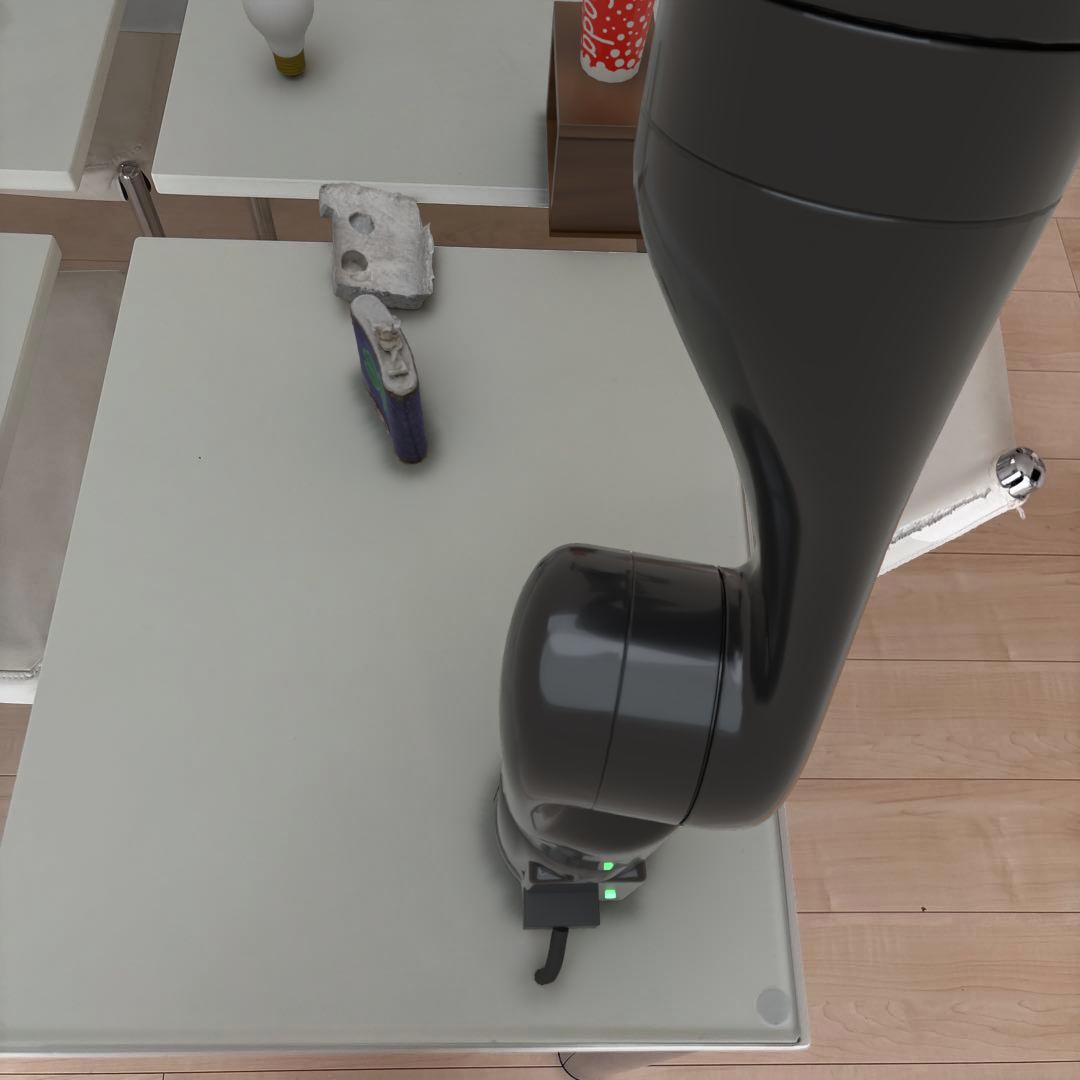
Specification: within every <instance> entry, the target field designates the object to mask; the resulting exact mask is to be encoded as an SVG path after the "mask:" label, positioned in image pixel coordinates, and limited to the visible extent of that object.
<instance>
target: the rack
mask: <svg viewBox="0 0 1080 1080" xmlns="http://www.w3.org/2000/svg"><path fill="white" fill-rule="evenodd" d="M582 3H583V1H570V0H569V1H568V0H554V1H553V9H552V19H551V20H552V21H551V34H550V47H549V48H550V49H549V62H548V74H547V91H546V101H545V102H546V105H545V115H544V124H545V126H544V127H545V151H546V152H545V154H546V156H545V157H546V181H547V183H546V184H547V209H548V210H547V211H548V212H547V213H548V236H549V238H567V239H568V238H569V239H570V238H571V239H572V238H573V239H610V240H611V239H612V240H613V239H614V240H615V239H616V240H617V239H618V240H644V239H643V235H642V231H641V227H640V223H639V219H638V212H637V206H636V200H635V193H634V187H633V148H634V142H635V136H636V129H637V123H638V117H639V111H640V105H641V101H642V97H643V91H644V85H645V79H646V74H647V68H648V62H649V56H650V51H651V45H652V39H653V33H654V28H655V22H656V18H655V13H654V12H655V11H654V9H653V11H652V16H651V20H650V24H649V28H648V32H647V37H646V41H645V45H644V49H643V53H642V58H641V62H640V66H639V69H638V72H637V73H636V74H635V75H634V76H633V77H632V78H631V79H628V80H626V81H623V82H616V83H608V82H604V81H599V80H597V79H595V78H593V77H591V76H589V75H588V74H587V73H586V72H585V70H584V69H583V68H582V65H581V61H580V55H581V29H582Z"/></svg>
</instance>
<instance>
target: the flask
mask: <svg viewBox="0 0 1080 1080" xmlns="http://www.w3.org/2000/svg"><path fill="white" fill-rule="evenodd" d="M349 314H350V315H349V316H350V318H351V324H352V325H351V326H352V327H353V333H354V337H355V342H356V346H357V352H358V353H357V354H358V358H359V364H360V370H361V378H362V382H363V385H364V387H365V389H366V393H367V396H370V397H371V399H372V401H373V404H374V406H375V411H376V413H377V414H376V416H378V419H379V421H381V423H383V424H384V425H386V428H387V430H386V432H385V433H386V434H388V435H389V437H390V438H391V443H392V444H391V446H392V447H393V452H394V453H395V455H396V459H397V460H398V461H400V462H402V463H404V464H406V465H408V466H409V467H412V465H417V464H420V463H422V462H423V461H424V460H425V459H427V456H428V452H429V450H428V440H427V437H426V433H425V425H424V424H425V423H424V418H423V417H424V416H423V407H422V402H421V401H422V399H421V391H420V390H421V389H420V380H419V375H418V370H417V366H416V362H415V358H414V357H415V356H414V355H413V352H412V349H411V346H410V344H409V342H408V339H407V338H406V335H405V334H404V332H403V330H402V328H401V327H402V321H401V319H398V317H397V316H396V315H394V314H393V313H391V310H390V309H389V307H386V306H385V305H384V304H383V302H382V301H381V300H380V299H379V298H377V297H376V296H374V295H367V294H365V295H359V296H357V297H356V298H355V299H354V300H353V301H350V303H349Z"/></svg>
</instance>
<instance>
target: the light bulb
mask: <svg viewBox="0 0 1080 1080" xmlns="http://www.w3.org/2000/svg"><path fill="white" fill-rule="evenodd" d="M241 2H242V7H243V10H244V13H245V15H246V17H247V20H248V21H249V22H250V24H251V25H252V26H253V28H254V29H255V30H256V31H257V32H258V33H259V34H261V35H262V36H263V38H264V39H265V41H266V44H267V46H268V47H269V49H270V50H271V52H272V55H273V59H274V62H275V67H276V69H277V72H278V73H280V74H282V75H283V76H289V77H296V76H298V75H299V74H301V73H303V72H304V71H305V69H306V67H307V66H306V65H307V64H306V57H305V49H304V47H305V41H306V33H307V31H308V28H309V26H310V24H311V23H312V20H313V18H314V17H313V16H314V12H315V11H314V10H315V0H241Z"/></svg>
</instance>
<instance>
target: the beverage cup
mask: <svg viewBox="0 0 1080 1080" xmlns="http://www.w3.org/2000/svg"><path fill="white" fill-rule="evenodd" d="M582 2H583V3H582V29H581V55H580V61H581V65H582V68H583V69H584V70H585V72H586V73H587V74H588V75H589V76H591V77H593V78H595V79H597V80H599V81H604V82H608V83H616V82H623V81H626V80H628V79H631V78H632V77H633V76H634V75H635V74H636V73H637V72H638V69H639V66H640V62H641V58H642V53H643V49H644V45H645V41H646V37H647V32H648V28H649V24H650V20H651V16H652V11H653V10H654V8H655V4H656V3H655V2H656V0H582Z"/></svg>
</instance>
